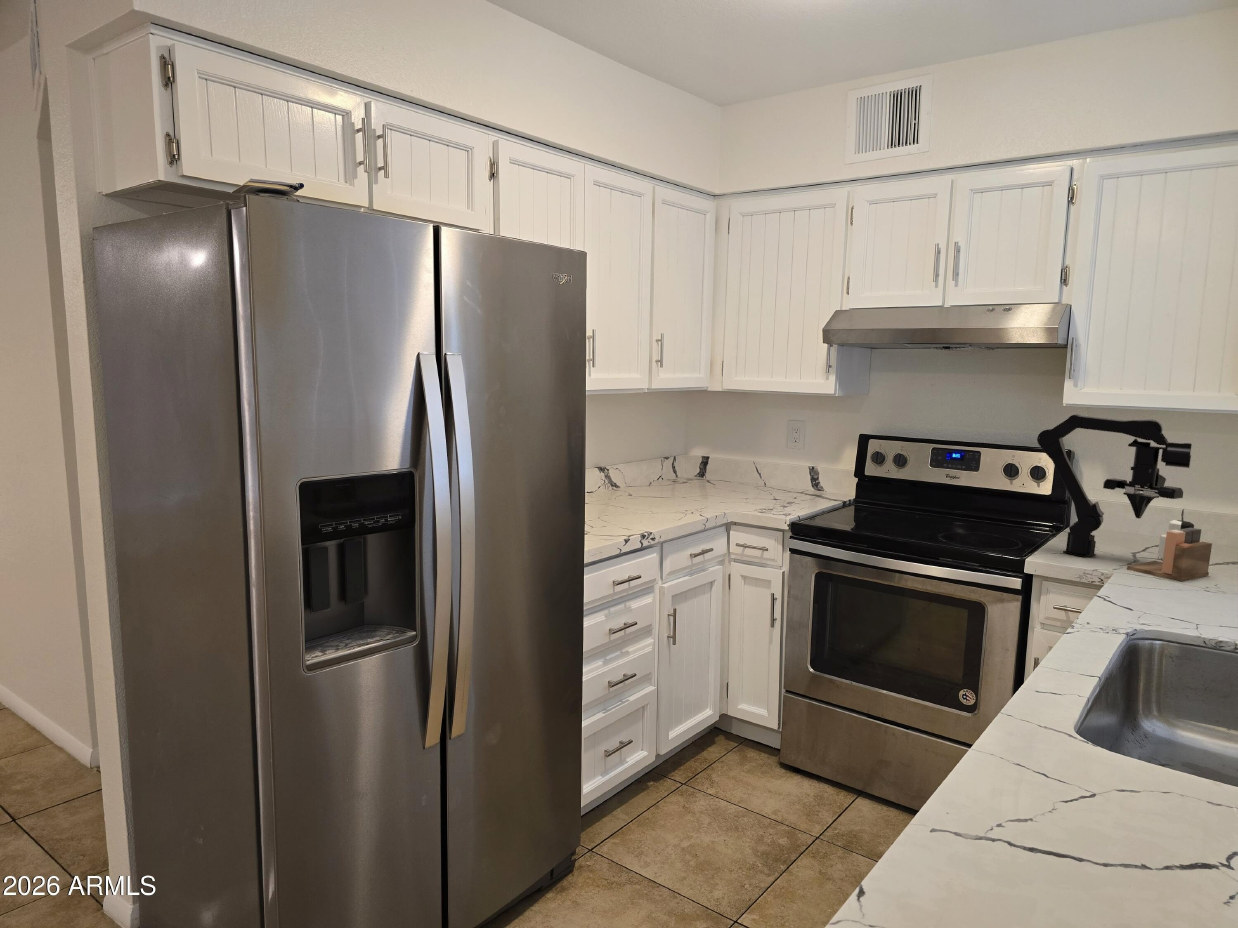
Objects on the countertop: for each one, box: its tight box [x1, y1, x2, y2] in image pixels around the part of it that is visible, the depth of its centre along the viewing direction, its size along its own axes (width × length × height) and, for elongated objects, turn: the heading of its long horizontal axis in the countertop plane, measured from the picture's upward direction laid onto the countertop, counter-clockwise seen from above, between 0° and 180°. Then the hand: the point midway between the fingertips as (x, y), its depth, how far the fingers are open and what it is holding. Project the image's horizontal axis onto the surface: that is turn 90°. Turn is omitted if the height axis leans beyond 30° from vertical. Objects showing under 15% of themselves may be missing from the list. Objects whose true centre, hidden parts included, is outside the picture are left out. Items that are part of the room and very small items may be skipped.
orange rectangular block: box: [1161, 530, 1186, 574], centre depth 216 cm, size 2×5×11 cm, turn 122°
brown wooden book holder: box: [1126, 527, 1213, 583], centre depth 221 cm, size 14×16×12 cm
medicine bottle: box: [1157, 519, 1195, 560], centre depth 236 cm, size 7×7×12 cm
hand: (1138, 518), depth 230 cm, fingers closed
